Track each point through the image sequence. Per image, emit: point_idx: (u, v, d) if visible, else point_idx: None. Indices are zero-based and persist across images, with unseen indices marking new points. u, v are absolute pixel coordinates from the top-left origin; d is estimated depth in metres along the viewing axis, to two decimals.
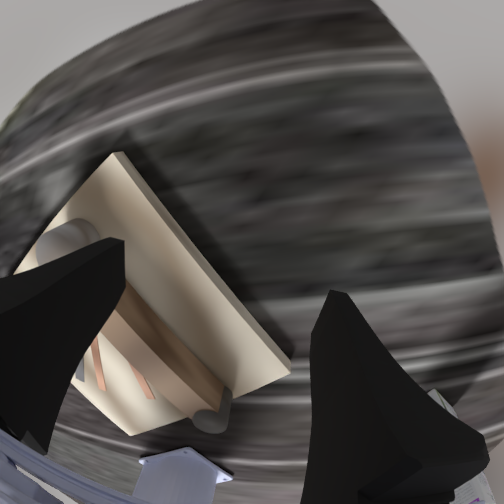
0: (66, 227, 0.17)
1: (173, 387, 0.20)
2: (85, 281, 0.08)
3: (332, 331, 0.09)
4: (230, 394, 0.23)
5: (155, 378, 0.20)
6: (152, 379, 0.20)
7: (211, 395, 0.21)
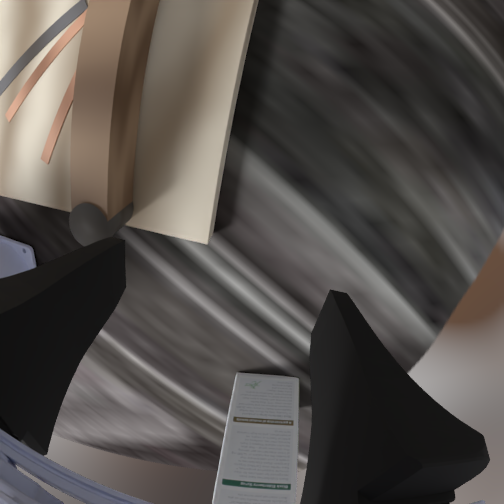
0: None
1: (90, 152, 0.13)
2: (85, 281, 0.08)
3: (332, 331, 0.09)
4: (130, 215, 0.18)
5: (82, 127, 0.13)
6: (78, 126, 0.13)
7: (116, 197, 0.15)
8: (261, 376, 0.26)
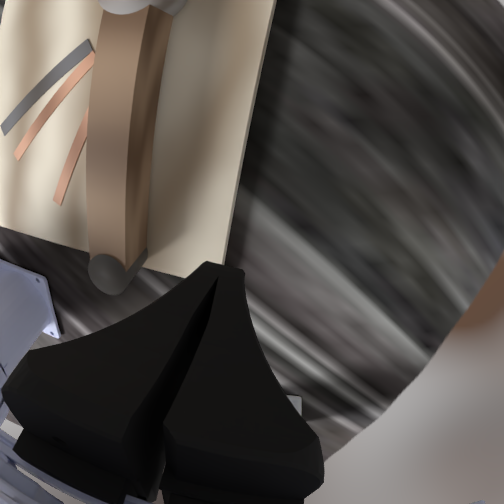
0: None
1: (107, 210, 0.15)
2: (201, 315, 0.08)
3: None
4: (144, 260, 0.19)
5: (97, 185, 0.14)
6: (92, 184, 0.14)
7: (133, 248, 0.17)
8: None
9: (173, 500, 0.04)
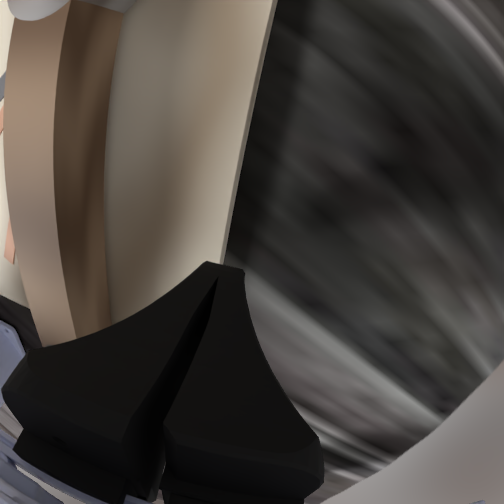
0: None
1: (48, 300, 0.10)
2: (201, 315, 0.08)
3: None
4: None
5: (31, 270, 0.09)
6: (26, 267, 0.09)
7: None
8: None
9: (173, 500, 0.04)
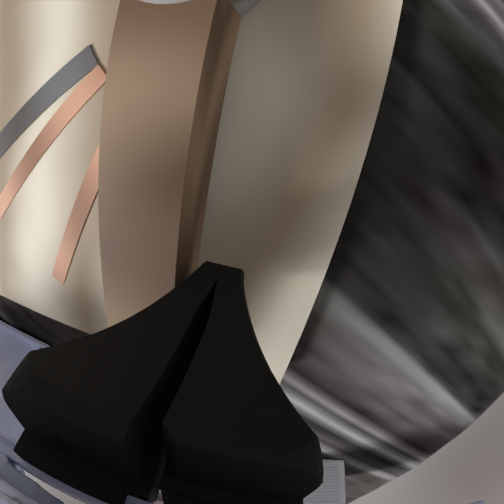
0: None
1: None
2: (202, 315, 0.08)
3: None
4: None
5: (123, 302, 0.09)
6: (115, 299, 0.09)
7: None
8: None
9: (172, 500, 0.04)
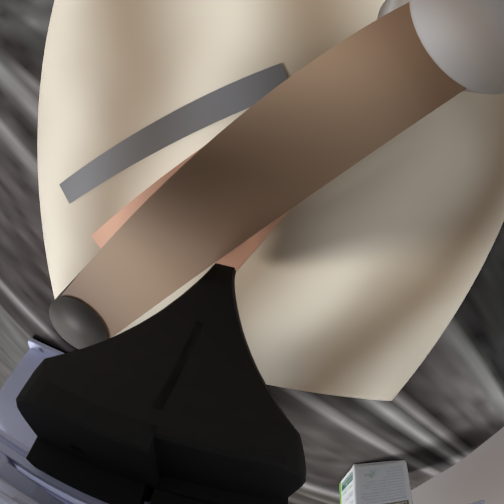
0: None
1: (135, 276, 0.09)
2: None
3: None
4: None
5: (145, 239, 0.08)
6: (139, 231, 0.08)
7: None
8: (375, 464, 0.23)
9: (157, 495, 0.04)
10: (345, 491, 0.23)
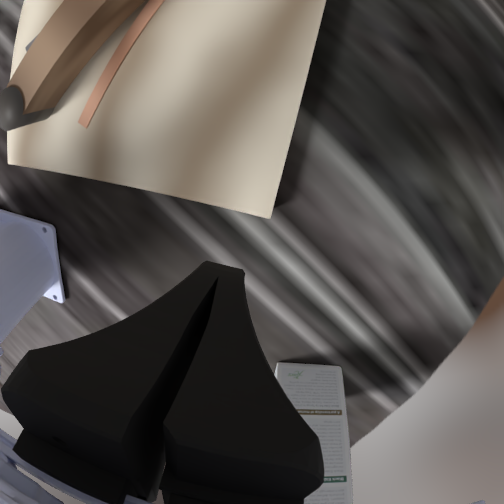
0: None
1: (44, 53, 0.11)
2: (201, 315, 0.08)
3: None
4: (45, 117, 0.15)
5: (53, 28, 0.10)
6: (51, 25, 0.10)
7: (41, 98, 0.13)
8: (303, 365, 0.25)
9: (173, 500, 0.04)
10: None
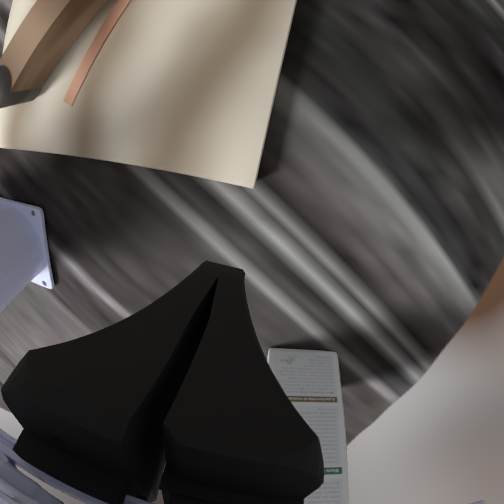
0: None
1: (31, 32, 0.10)
2: (201, 315, 0.08)
3: None
4: (32, 98, 0.14)
5: (39, 9, 0.09)
6: (37, 7, 0.09)
7: (28, 77, 0.12)
8: (296, 351, 0.24)
9: (173, 500, 0.04)
10: None
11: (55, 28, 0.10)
